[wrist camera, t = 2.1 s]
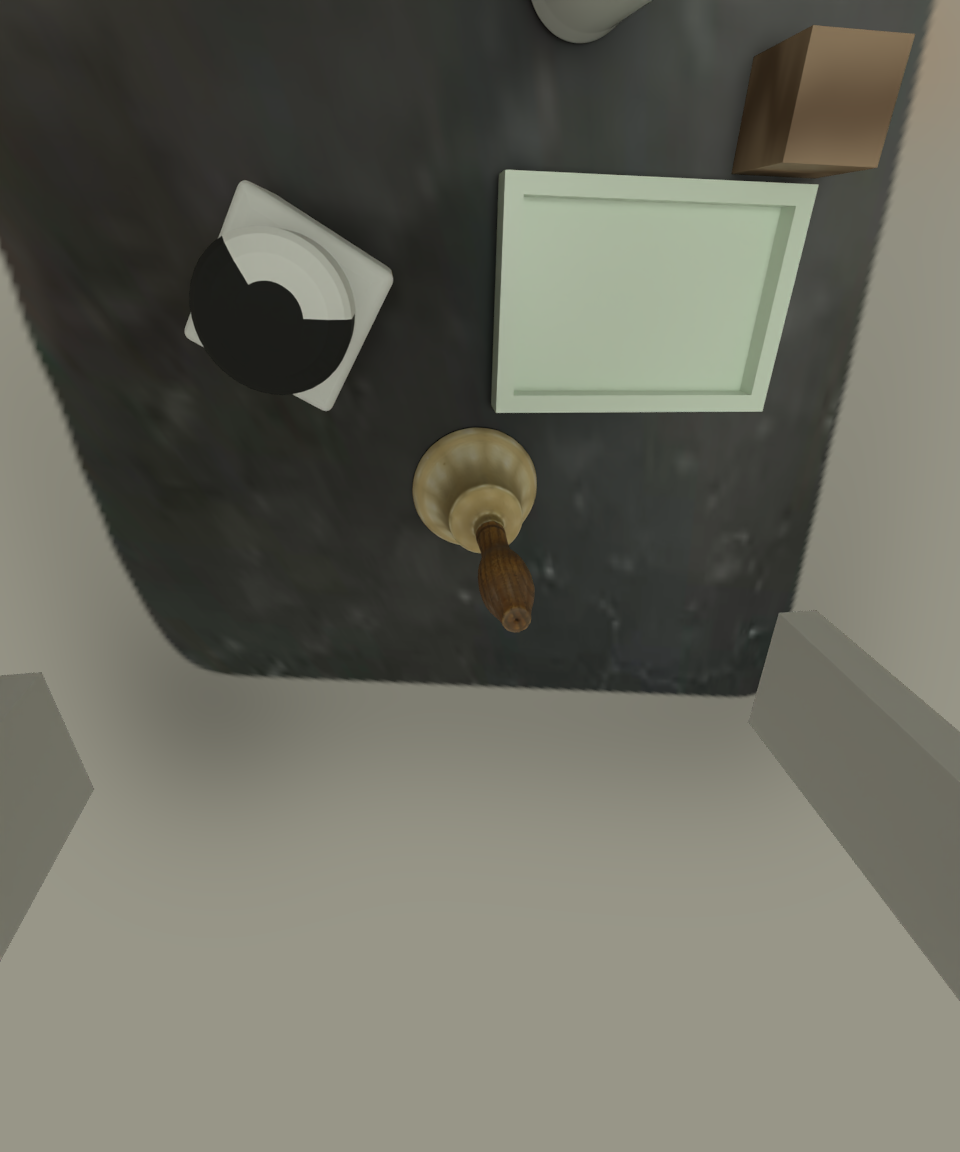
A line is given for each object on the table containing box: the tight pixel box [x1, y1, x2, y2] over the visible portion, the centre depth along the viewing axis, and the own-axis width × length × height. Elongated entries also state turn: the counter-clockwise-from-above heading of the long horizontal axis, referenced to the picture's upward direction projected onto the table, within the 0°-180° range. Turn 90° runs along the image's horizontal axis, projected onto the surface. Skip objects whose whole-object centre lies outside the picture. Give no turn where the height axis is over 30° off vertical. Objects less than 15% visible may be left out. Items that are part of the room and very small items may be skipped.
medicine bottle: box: [185, 180, 393, 411], centre depth 28 cm, size 7×7×12 cm
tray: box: [491, 170, 818, 413], centre depth 35 cm, size 12×17×2 cm
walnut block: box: [732, 25, 915, 178], centre depth 30 cm, size 5×5×5 cm
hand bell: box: [413, 427, 537, 632], centre depth 33 cm, size 8×8×16 cm
